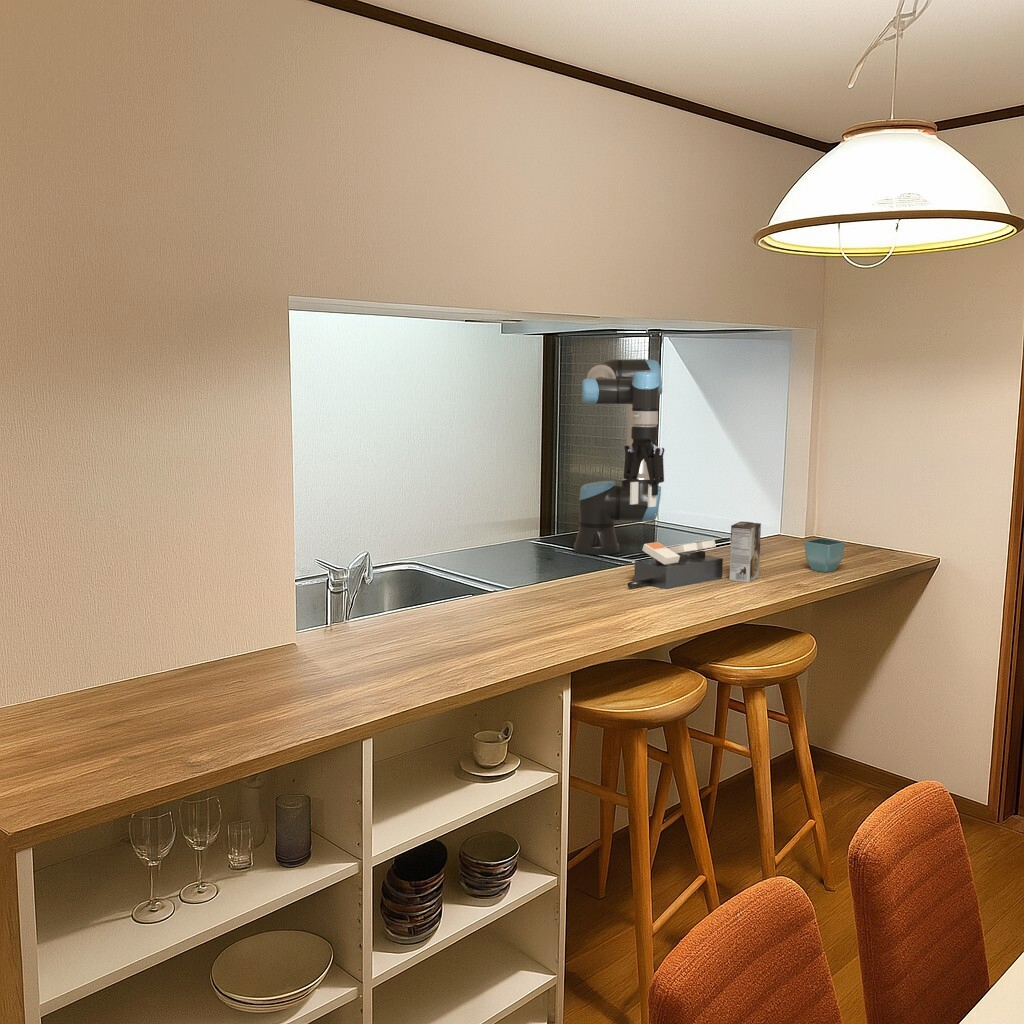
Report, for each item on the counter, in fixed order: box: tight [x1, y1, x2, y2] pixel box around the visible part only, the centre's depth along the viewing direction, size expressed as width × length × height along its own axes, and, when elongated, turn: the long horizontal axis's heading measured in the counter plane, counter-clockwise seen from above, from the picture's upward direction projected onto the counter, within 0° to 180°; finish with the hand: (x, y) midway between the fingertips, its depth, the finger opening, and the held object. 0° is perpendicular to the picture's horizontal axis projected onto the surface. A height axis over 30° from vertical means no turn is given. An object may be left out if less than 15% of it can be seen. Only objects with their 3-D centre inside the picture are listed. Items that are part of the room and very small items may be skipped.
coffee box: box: [728, 521, 762, 583], centre depth 283 cm, size 9×6×16 cm
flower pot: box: [804, 538, 846, 573], centre depth 296 cm, size 9×9×9 cm
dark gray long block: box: [627, 550, 724, 590], centre depth 278 cm, size 12×32×7 cm, turn 129°
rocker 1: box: [642, 541, 680, 565], centre depth 274 cm, size 9×6×2 cm, turn 39°
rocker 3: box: [681, 539, 717, 554], centre depth 285 cm, size 9×6×2 cm, turn 38°
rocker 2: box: [667, 542, 698, 554], centre depth 280 cm, size 9×6×2 cm, turn 38°
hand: (642, 505), depth 284 cm, fingers open, 6 cm apart
